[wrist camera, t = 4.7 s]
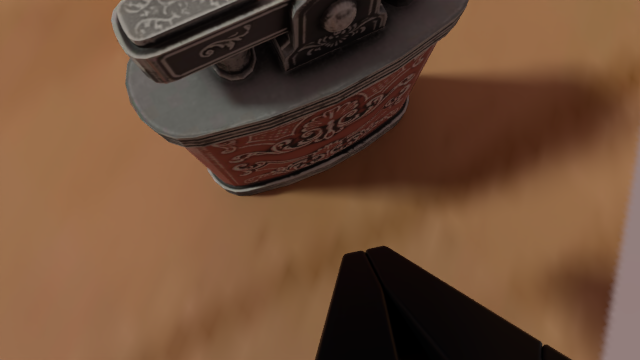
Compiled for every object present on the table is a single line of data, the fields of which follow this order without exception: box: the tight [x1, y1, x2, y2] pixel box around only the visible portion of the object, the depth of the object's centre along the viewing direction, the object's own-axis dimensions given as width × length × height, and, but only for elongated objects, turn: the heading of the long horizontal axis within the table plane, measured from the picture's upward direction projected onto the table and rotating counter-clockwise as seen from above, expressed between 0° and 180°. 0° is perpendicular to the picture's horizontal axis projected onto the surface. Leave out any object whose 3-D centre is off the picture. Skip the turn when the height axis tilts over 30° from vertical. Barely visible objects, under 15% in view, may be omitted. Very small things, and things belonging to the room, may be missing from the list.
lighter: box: [111, 0, 468, 196], centre depth 12 cm, size 8×3×10 cm, turn 116°
